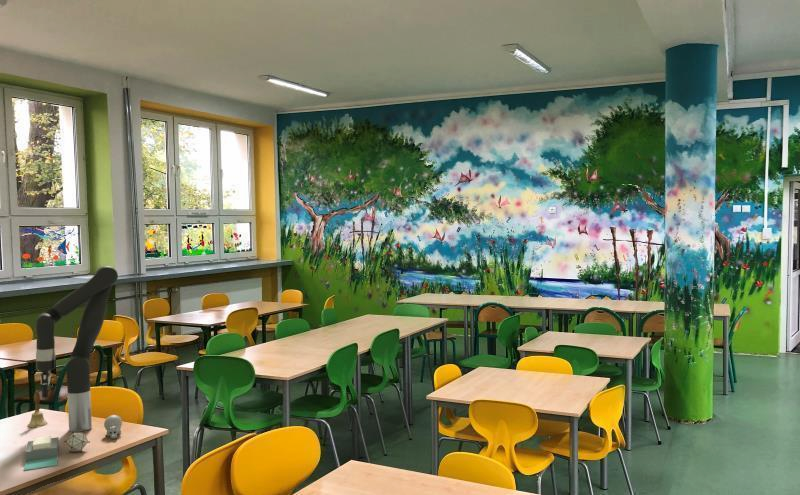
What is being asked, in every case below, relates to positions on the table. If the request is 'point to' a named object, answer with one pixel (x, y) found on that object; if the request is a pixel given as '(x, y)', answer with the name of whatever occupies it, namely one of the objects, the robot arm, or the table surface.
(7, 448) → the table surface
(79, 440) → the game die
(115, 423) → the round bodied animal figurine
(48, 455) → the gray board
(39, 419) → the hand bell
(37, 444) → the ivory tile
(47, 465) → the teal mat
